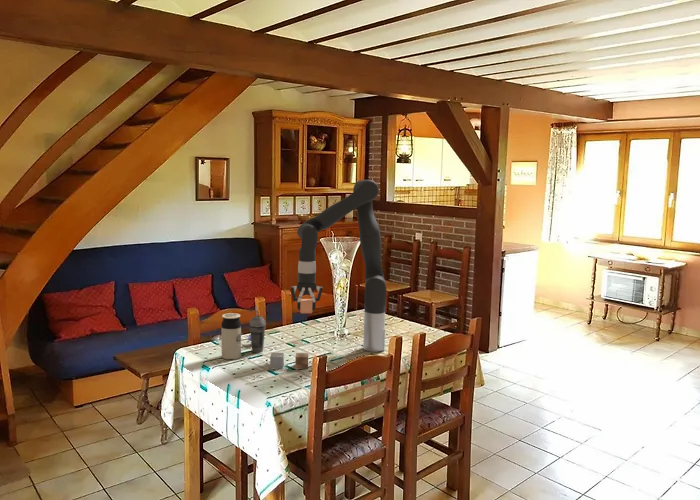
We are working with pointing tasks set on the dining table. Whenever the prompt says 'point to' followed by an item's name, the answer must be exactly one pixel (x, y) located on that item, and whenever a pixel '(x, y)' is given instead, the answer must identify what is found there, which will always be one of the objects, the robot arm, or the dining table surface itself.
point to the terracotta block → (306, 306)
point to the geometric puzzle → (249, 338)
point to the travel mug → (231, 336)
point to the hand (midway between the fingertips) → (306, 310)
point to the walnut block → (301, 361)
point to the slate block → (276, 360)
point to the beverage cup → (257, 333)
